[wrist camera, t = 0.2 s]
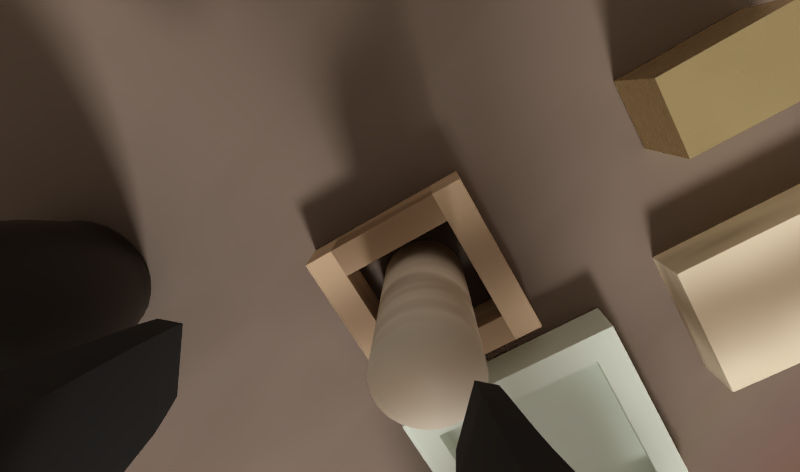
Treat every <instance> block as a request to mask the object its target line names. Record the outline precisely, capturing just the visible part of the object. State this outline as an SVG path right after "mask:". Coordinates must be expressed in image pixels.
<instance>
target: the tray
mask: <svg viewBox="0 0 800 472" xmlns="http://www.w3.org/2000/svg"><path fill="white" fill-rule="evenodd" d="M487 366H488V372H489V380H488V383H491V384H496V385H499V386H500V387H501V388H502V389H503V390H504V391H505V392H506V393H507V395H508V396H509V397H510V398H511V400H512V401H513V402H514V403H515V404H516V406H517V407H518V408H519V409H520V411H521V412H522V413H523V414H524V415H525V417H526V418H527V419H528V420H529V421H530V423H531V424H532V425H533V426H534V427H535V429H536V430H537V431H538V432H539V433H540V434H541V436H542V437H543V438H544V439H545V440H546V441H547V442H548V443H549V445H550V446H551V447H552V448H553V449H554V450H555V451H556V452H557V453H558V454H559V455H560V456H561V457H562V458H563V459H564V460H565V462H566V463H567V464H568V465H569V466H570V467H571V468H572V469H573V470H574V471H575V472H688V470H687V468H686V466H685V464H684V462H683V460H682V458H681V456H680V454H679V453H678V451H677V449H676V447H675V445H674V443H673V441H672V439H671V437H670V435H669V433H668V431H667V429H666V427H665V425H664V424H663V422H662V420H661V418H660V416H659V414H658V412H657V410H656V408H655V406H654V404H653V402H652V400H651V398H650V397H649V395H648V393H647V391H646V389H645V387H644V385H643V383H642V381H641V379H640V377H639V375H638V373H637V371H636V369H635V368H634V366H633V364H632V362H631V360H630V358H629V356H628V354H627V352H626V350H625V348H624V346H623V344H622V342H621V341H620V339H619V337H618V335H617V333H616V331H615V329H614V327H613V325H612V324H611V323H610V322H609V321H608V319H607V318H606V317H605V316H604V315H603V314H602V312H601V311H600V310H599V309H598V308H596V309H594V310H592V311H590V312H588V313H586V314H584V315H582V316H580V317H578V318H576V319H574V320H572V321H569V322H567V323H565V324H563V325H561V326H559V327H557V328H555V329H553V330H551V331H549V332H547V333H545V334H543V335H541V336H539V337H537V338H535V339H533V340H530V341H528V342H526V343H524V344H522V345H520V346H518V347H516V348H514V349H512V350H510V351H508V352H506V353H504V354H502V355H500V356H498V357H496V358H494V359H492V360H489V361H487ZM463 421H464V420H462V421H460V422H458V423H457V424H454V425H452V426H449V427H445V428H441V429H433V430H424V429H416V428H411V427H408V426H404V425H402V427H403V429H404V430H405V432H406V433H407V435H408V436H409V438H410V439H411V441H412V442H413V444H414V445H415V447H416V448H417V449H418V451H419V452H420V454H421V455H422V457H423V458H424V460H425V461H426V463H427V464H428V466H429V467H430V469H431V470H432V472H456V447H457V443H458V440H459V436H460V432H461V429H462V425H463Z"/></svg>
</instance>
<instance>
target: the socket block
mask: <svg viewBox="0 0 800 472" xmlns="http://www.w3.org/2000/svg"><path fill="white" fill-rule="evenodd" d="M446 221H448V223H449V225H450V226H451V228H452V230H453V231H454V233H455V235H456V237H457V238H458V240H459V242H460V244H461V245H462V247H463V249H464V251H465V252H466V254H467V256H468V258H469V259H470V261H471V263H472V264H473V266H474V268H475V270H476V271H477V273H478V275H479V277H480V278H481V280H482V282H483V284H484V285H485V287H486V289H487V290H488V292H489V294H490V296H491V297H492V299H490V300H488V301H486V302H484V303H482V304H480V305H478V306H476V307H474V308H473V310H474V314H475V318H476V322H477V326H478V330H479V334H480V338H481V342H482V346H483V350H484V354H487V353H489V352H491V351H493V350H495V349H497V348H499V347H501V346H503V345H505V344H507V343H509V342H511V341H514V340H516V339H518V338H520V337H522V336H524V335H526V334H528V333H530V332H532V331H534V330H536V329H538V328H540V327H542V325H541V323H540V321H539V319H538V317H537V316H536V314H535V312H534V310H533V308H532V306H531V304H530V303H529V301H528V299H527V297H526V295H525V294H524V292H523V290H522V288H521V286H520V285H519V283H518V281H517V279H516V277H515V276H514V274H513V272H512V270H511V268H510V267H509V265H508V263H507V261H506V259H505V258H504V256H503V254H502V252H501V251H500V249H499V247H498V245H497V243H496V242H495V240H494V238H493V236H492V234H491V233H490V231H489V229H488V227H487V225H486V224H485V222H484V220H483V218H482V216H481V215H480V213H479V211H478V209H477V207H476V206H475V204H474V202H473V200H472V198H471V197H470V195H469V193H468V191H467V189H466V188H465V186H464V184H463V182H462V181H461V179H460V177H459V175H458V173H457V172H456V171H455V172H453V173H451V174H449V175H448V176H446V177H444V178H442V179H441V180H439V181H437V182H435V183H434V184H432V185H430V186H428V187H427V188H425V189H423V190H421V191H420V192H418V193H416V194H414V195H412V196H411V197H409V198H407V199H405V200H404V201H402V202H400V203H398V204H397V205H395V206H393V207H391V208H390V209H388V210H386V211H384V212H383V213H381V214H379V215H377V216H376V217H374V218H372V219H370V220H368V221H367V222H365V223H363V224H361V225H360V226H358V227H356V228H354V229H353V230H351V231H349V232H347V233H346V234H344V235H342V236H340V237H339V238H337V239H335V240H333V241H331V242H330V243H328V244H326V245H324V246H323V247H321V248H319V249H317V250H316V251H315V252H314V254H313V255H312V257H311V258H310V260H309V261H308V263H307V264H306V267H307V269H308V270H309V272H310V273H311V275H312V276H313V278H314V279H315V281H316V282H317V284H318V285H319V287H320V288H321V290H322V291H323V293H324V294H325V296H326V297H327V299H328V300H329V302H330V303H331V305H332V306H333V308H334V309H335V311H336V312H337V313H338V315H339V316H340V318H341V319H342V321H343V322H344V324H345V325H346V327H347V328H348V330H349V331H350V333H351V334H352V336H353V337H354V339H355V340H356V342H357V343H358V345H359V346H360V348H361V349H362V351H363V352H364V354H365V355H366V357H367V358H368V360H369V357H370V351H371V346H372V341H373V335H374V330H375V325H376V320H377V314H378V309H379V304H380V301H379V300H378V298H377V297H376V295H375V294H374V292H373V290H372V289H371V287H370V286H369V284H368V283H367V281H366V280H365V278H364V276H363V275H362V273H361V272H360V270H359V269H361V268H363V267H364V266H366V265H368V264H370V263H372V262H373V261H375V260H377V259H379V258H381V257H383V256H384V255H386V254H388V253H390V252H392V251H393V250H395V249H397V248H399V247H401V246H403V245H404V244H406V243H408V242H410V241H412V240H413V239H415V238H417V237H419V236H421V235H423V234H424V233H426V232H428V231H430V230H432V229H433V228H435V227H437V226H439V225H441V224H443V223H444V222H446Z"/></svg>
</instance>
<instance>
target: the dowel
mask: <svg viewBox="0 0 800 472" xmlns="http://www.w3.org/2000/svg"><path fill="white" fill-rule="evenodd" d="M474 380H476V381H481V382H486V383H488V380H489V372H488V366H487V362H486V358H485V354H484V350H483V346H482V342H481V338H480V334H479V330H478V326H477V322H476V318H475V314H474V310H473V306H472V302H471V298H470V295H469V291H468V287H467V283H466V279H465V275H464V271H463V267H462V264H461V262H460V260H459V259H458V257H457V256H456V255H455V253H454V252H453V251H451V250H450V249H449V248H448V247H446V246H444V245H442V244H440V243H437V242H433V241H416V242H412V243H409V244H407V245H405V246H403V247H402V248H400V249H399V250H398V251H396V252H395V254H394V255H393V256H392V257H391V259H390V261H389V262H388V265H387V268H386V272H385V277H384V283H383V288H382V293H381V298H380V304H379V309H378V314H377V320H376V325H375V330H374V335H373V341H372V346H371V351H370V357H369V362H368V367H367V384H368V388H369V392H370V394H371V396H372V398H373V400H374V402H375V403H376V405H377V406H378V407H379V409H380V410H381V411H382V412H383V413H384V414H386V415H387V416H388V417H389V418H391V419H392V420H394V421H396V422H398V423H400V424H402V425H404V426H408V427H411V428H416V429H424V430H433V429H441V428H445V427H449V426H452V425H454V424H457V423H458V422H460V421H462V420H464V417H465V414H466V410H467V406H468V403H469V399H470V395H471V391H472V388H473V384H474Z"/></svg>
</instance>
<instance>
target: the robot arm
mask: <svg viewBox="0 0 800 472" xmlns="http://www.w3.org/2000/svg"><path fill="white" fill-rule="evenodd" d="M182 326H183V324H182V323H177V322H172V321H167V320H162V319H155V320H151V321H148V322H145V323H141V324H138V325H136V326H133V327H130V328H127V329H124V330H121V331H119V332H116V333H113V334H110V335H108V336H105V337H102V338H99V339H97V340H94V341H91V342H88V343H85V344H83V345H80V346H77V347H74V348H71V349H68V350H65V351H62V352H58V353H55V354H52V355H49V356H46V357H43V358H40V359H37V360H34V361H30V362H27V363H24V364H20V365H17V366H13V367H9V368H6V369H2V370H0V472H124V471H125V470H126V469H127V467H128V466H129V465H130V464H131V462H132V461H133V460H134V459H135V457H136V456H137V455H138V454H139V452H140V451H141V450H142V449H143V447H144V446H145V445H146V443H147V442H148V441H149V440H150V438H151V437H152V436H153V434H154V433H155V432H156V430H157V429H158V427H159V425H160V424H161V422H162V421H163V419H164V417H165V416H166V414H167V412H168V411H169V409H170V407H171V406H172V404H173V402H174V401H175V399H176V397H177V389H178V377H179V364H180V352H181V339H182ZM456 472H575V471H574V470H573V469H572V468H571V467H570V466H569V465H568V464H567V463H566V462H565V460H564V459H563V458H562V457H561V456H560V455H559V454H558V453H557V452H556V451H555V450H554V449H553V448H552V447H551V446H550V445H549V443H548V442H547V441H546V440H545V439H544V438H543V437H542V436H541V434H540V433H539V432H538V431H537V430H536V429H535V427H534V426H533V425H532V424H531V423H530V421H529V420H528V419H527V418H526V417H525V415H524V414H523V413H522V412H521V411H520V409H519V408H518V407H517V406H516V404H515V403H514V402H513V401H512V400H511V398H510V397H509V396H508V395H507V393H506V392H505V391H504V390H503V389H502V388H501V387H500V386H499V385H496V384H491V383H486V382H481V381H476V380H474V384H473V388H472V391H471V395H470V399H469V403H468V406H467V410H466V414H465V417H464V421H463V425H462V429H461V432H460V436H459V440H458V443H457V447H456Z"/></svg>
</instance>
